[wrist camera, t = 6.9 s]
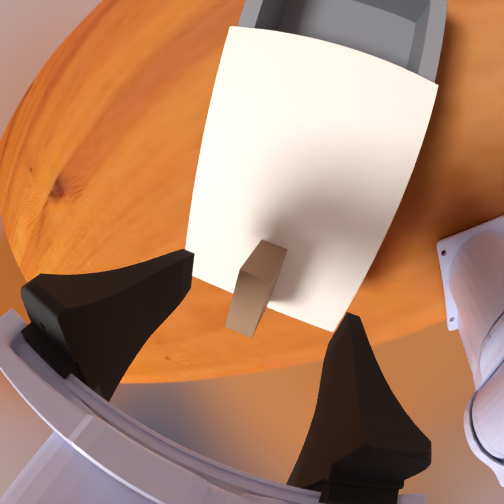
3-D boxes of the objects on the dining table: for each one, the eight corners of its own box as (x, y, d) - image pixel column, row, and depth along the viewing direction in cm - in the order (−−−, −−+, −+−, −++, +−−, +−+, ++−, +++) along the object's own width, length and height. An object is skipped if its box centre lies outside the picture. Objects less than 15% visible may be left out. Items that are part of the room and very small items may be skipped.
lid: (234, 29, 11) (198, 5, 8) (435, 86, 9) (465, 74, 6) (187, 267, 19) (154, 299, 16) (333, 326, 17) (326, 372, 14)
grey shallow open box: (282, -19, 12) (263, -50, 8) (427, 22, 10) (447, -2, 6) (233, 163, 20) (202, 175, 16) (372, 212, 18) (379, 238, 14)
